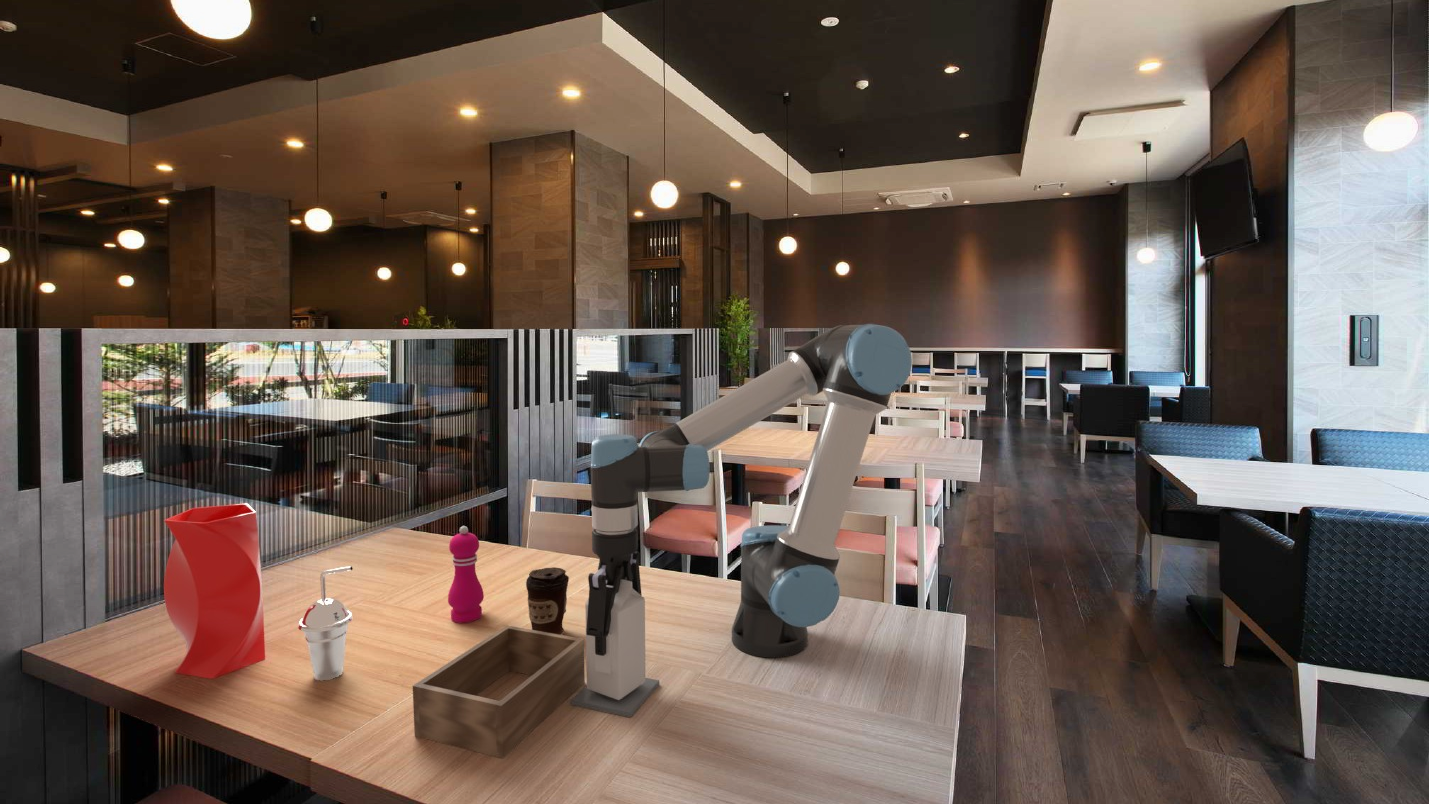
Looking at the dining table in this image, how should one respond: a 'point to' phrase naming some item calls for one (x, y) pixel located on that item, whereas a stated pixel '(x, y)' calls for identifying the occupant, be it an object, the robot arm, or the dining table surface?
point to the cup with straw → (326, 632)
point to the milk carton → (621, 646)
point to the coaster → (614, 706)
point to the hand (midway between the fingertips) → (616, 659)
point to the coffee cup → (547, 599)
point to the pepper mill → (465, 578)
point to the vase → (216, 589)
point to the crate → (502, 725)
